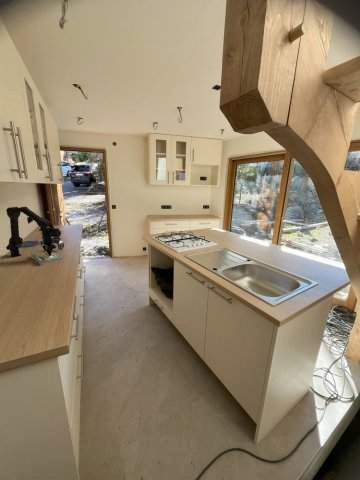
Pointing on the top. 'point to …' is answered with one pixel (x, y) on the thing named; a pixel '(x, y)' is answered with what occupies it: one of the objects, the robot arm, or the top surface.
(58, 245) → the medicine bottle
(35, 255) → the gray wall
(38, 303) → the top surface
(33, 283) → the top surface
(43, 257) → the resting mat
